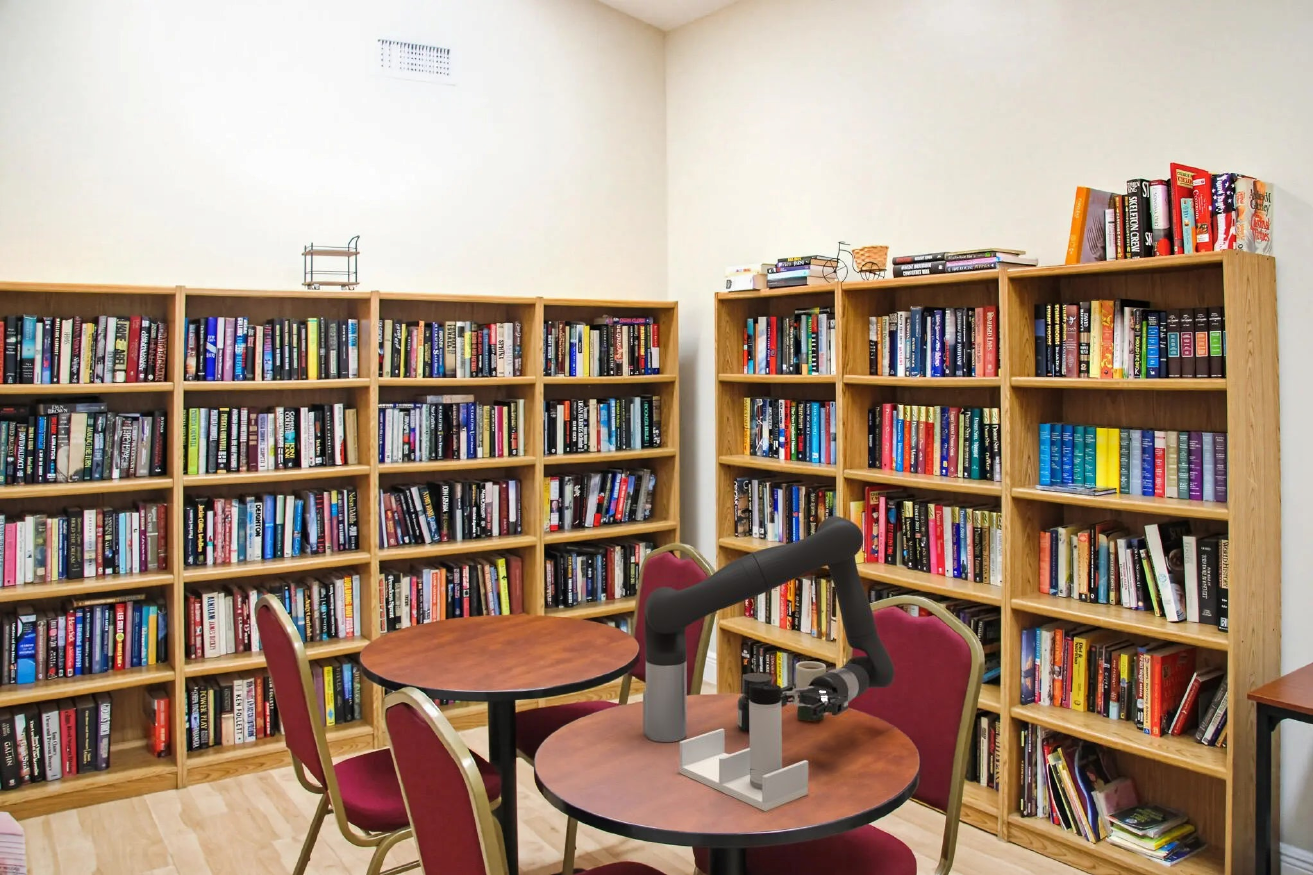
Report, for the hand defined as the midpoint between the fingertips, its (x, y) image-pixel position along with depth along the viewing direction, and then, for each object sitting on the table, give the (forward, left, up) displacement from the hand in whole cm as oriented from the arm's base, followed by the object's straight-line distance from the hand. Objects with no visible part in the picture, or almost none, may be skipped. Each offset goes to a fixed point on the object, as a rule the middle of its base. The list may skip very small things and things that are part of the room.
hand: (793, 708), depth 205 cm
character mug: (-20, +29, -14) cm, 38 cm away
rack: (-4, -10, -14) cm, 18 cm away
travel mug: (+2, -10, -13) cm, 16 cm away
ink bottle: (-24, +15, -14) cm, 32 cm away
